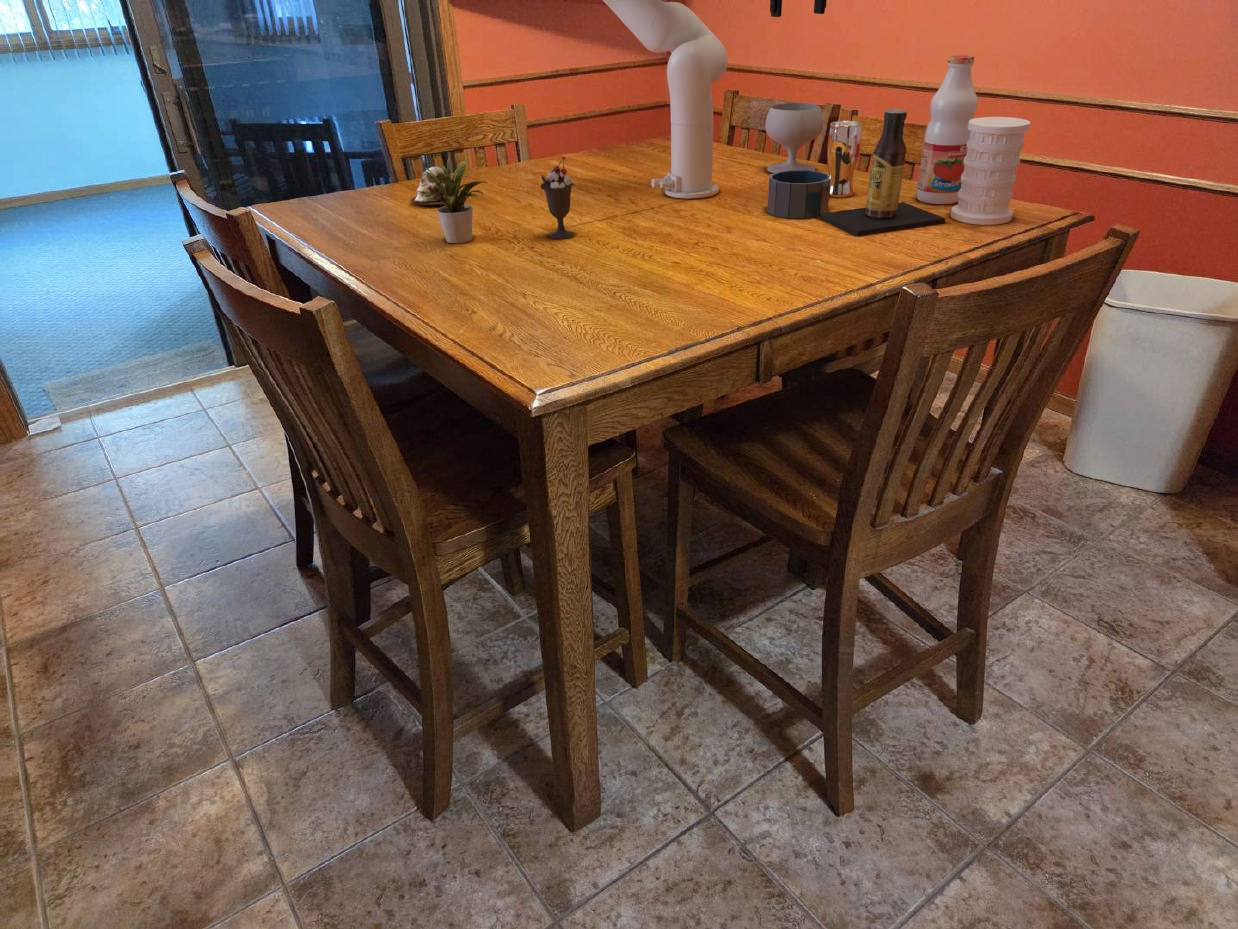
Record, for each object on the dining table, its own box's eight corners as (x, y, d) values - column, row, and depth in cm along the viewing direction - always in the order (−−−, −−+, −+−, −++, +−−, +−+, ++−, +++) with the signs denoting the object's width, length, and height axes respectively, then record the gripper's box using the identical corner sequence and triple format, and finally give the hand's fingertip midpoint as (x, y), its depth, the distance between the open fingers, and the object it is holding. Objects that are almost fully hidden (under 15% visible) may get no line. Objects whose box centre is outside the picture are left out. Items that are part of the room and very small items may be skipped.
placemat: (856, 236, 157) (857, 230, 156) (819, 218, 168) (819, 213, 168) (944, 223, 162) (945, 218, 161) (902, 206, 173) (903, 201, 173)
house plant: (430, 256, 157) (415, 168, 149) (410, 238, 168) (396, 156, 159) (499, 243, 163) (489, 157, 154) (476, 227, 173) (465, 146, 164)
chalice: (824, 175, 200) (830, 109, 192) (767, 177, 200) (770, 112, 192) (813, 163, 212) (818, 101, 204) (759, 165, 212) (762, 103, 204)
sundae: (582, 231, 167) (577, 155, 159) (570, 241, 162) (564, 162, 154) (553, 229, 169) (546, 154, 161) (540, 239, 164) (533, 161, 156)
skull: (429, 206, 185) (407, 168, 186) (418, 230, 194) (396, 194, 194) (473, 194, 192) (451, 157, 192) (460, 218, 201) (439, 182, 201)
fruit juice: (940, 192, 182) (963, 52, 167) (970, 201, 175) (997, 56, 160) (906, 197, 179) (926, 56, 164) (935, 207, 172) (960, 60, 157)
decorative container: (940, 218, 164) (956, 123, 155) (964, 206, 171) (981, 114, 162) (998, 228, 157) (1018, 129, 148) (1021, 214, 164) (1041, 119, 155)
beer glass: (852, 189, 187) (859, 119, 179) (856, 197, 181) (864, 125, 173) (821, 190, 188) (827, 120, 180) (825, 198, 182) (831, 126, 174)
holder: (785, 221, 167) (787, 186, 164) (757, 207, 178) (759, 174, 174) (838, 213, 170) (842, 179, 167) (808, 200, 181) (811, 167, 177)
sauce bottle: (860, 212, 167) (872, 108, 157) (890, 210, 167) (904, 106, 157) (871, 221, 162) (884, 113, 151) (902, 219, 162) (917, 111, 151)
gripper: (834, -89, 159) (826, 11, 168) (754, -86, 155) (750, 17, 164) (855, -91, 153) (845, 13, 162) (772, -88, 148) (767, 18, 157)
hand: (797, 15), depth 163 cm, fingers open, 9 cm apart
